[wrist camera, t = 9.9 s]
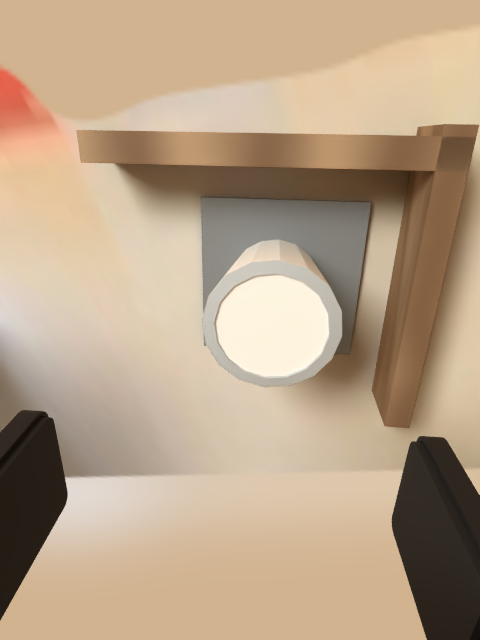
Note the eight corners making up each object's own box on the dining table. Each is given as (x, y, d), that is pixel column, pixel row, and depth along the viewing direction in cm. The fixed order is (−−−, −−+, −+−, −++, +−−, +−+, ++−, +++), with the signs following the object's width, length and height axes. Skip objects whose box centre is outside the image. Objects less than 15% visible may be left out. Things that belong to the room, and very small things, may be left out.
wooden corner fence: (133, 374, 30) (113, 406, 27) (107, 122, 24) (75, 118, 20) (393, 391, 29) (409, 428, 25) (446, 127, 22) (479, 124, 18)
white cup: (217, 324, 28) (198, 380, 21) (224, 223, 25) (204, 252, 18) (318, 336, 27) (330, 396, 21) (337, 235, 24) (356, 268, 18)
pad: (205, 342, 29) (204, 345, 28) (202, 196, 25) (201, 197, 24) (348, 351, 28) (349, 354, 28) (370, 201, 24) (371, 202, 24)
